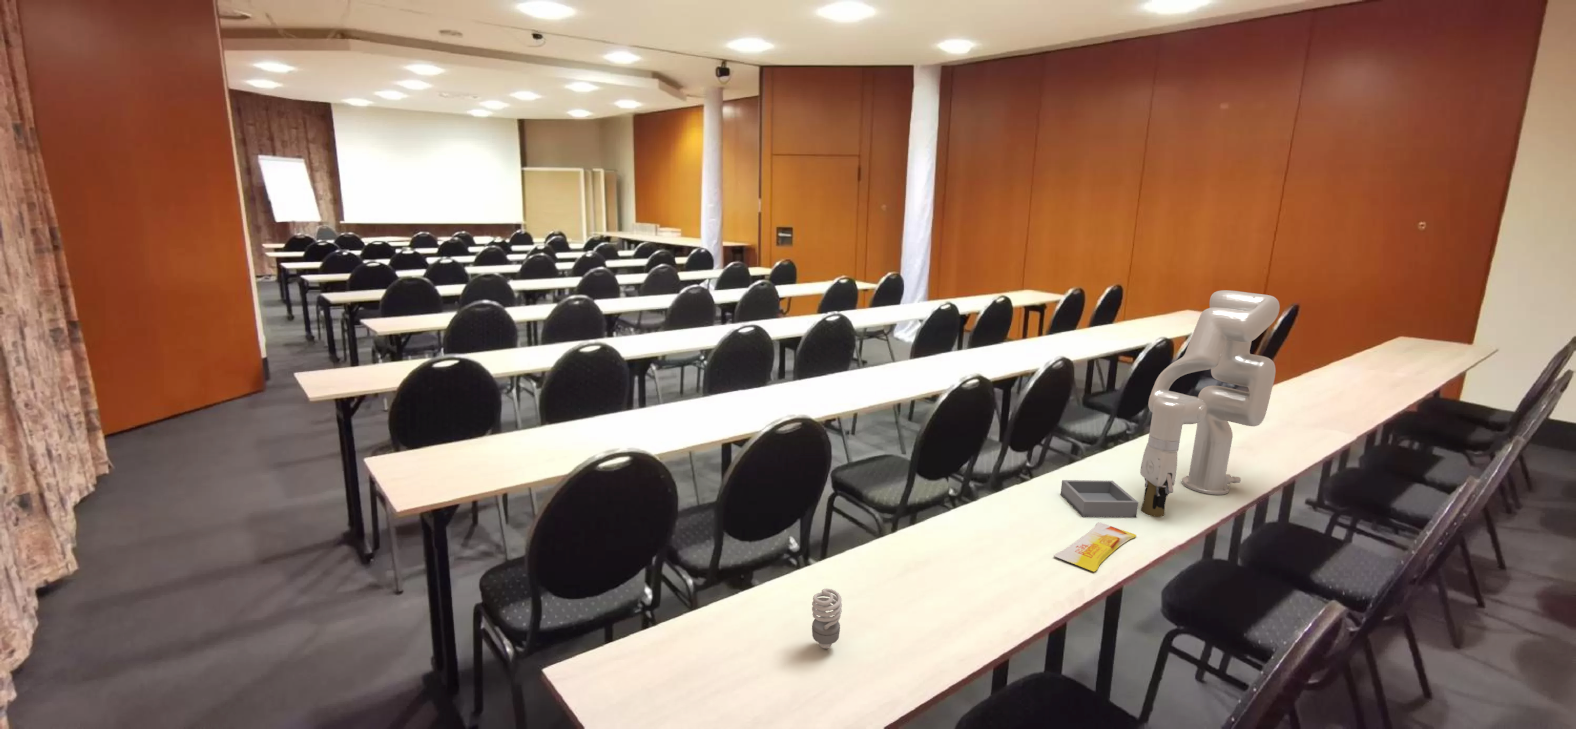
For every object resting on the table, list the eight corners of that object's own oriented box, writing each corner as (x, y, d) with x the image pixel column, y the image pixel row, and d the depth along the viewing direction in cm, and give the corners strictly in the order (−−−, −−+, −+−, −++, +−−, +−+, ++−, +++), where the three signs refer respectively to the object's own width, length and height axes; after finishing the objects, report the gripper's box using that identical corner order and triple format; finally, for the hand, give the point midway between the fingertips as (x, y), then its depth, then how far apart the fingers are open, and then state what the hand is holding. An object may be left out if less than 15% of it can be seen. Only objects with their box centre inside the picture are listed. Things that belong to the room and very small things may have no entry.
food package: (1094, 567, 166) (1053, 551, 173) (1093, 576, 167) (1052, 560, 173) (1138, 530, 185) (1099, 517, 192) (1136, 538, 185) (1098, 525, 192)
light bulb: (808, 639, 140) (810, 584, 137) (837, 638, 140) (839, 583, 137) (812, 657, 134) (814, 600, 131) (841, 656, 135) (844, 599, 132)
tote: (1110, 494, 211) (1112, 480, 210) (1136, 517, 196) (1138, 502, 195) (1060, 494, 210) (1062, 480, 209) (1082, 517, 196) (1084, 501, 195)
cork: (1167, 518, 196) (1173, 480, 194) (1144, 515, 198) (1149, 478, 195) (1161, 508, 202) (1167, 472, 200) (1138, 506, 203) (1143, 470, 201)
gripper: (1134, 432, 203) (1125, 492, 207) (1166, 453, 187) (1156, 518, 191) (1160, 433, 203) (1151, 492, 208) (1194, 454, 187) (1183, 518, 192)
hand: (1153, 504), depth 199 cm, fingers closed on cork, 3 cm apart
